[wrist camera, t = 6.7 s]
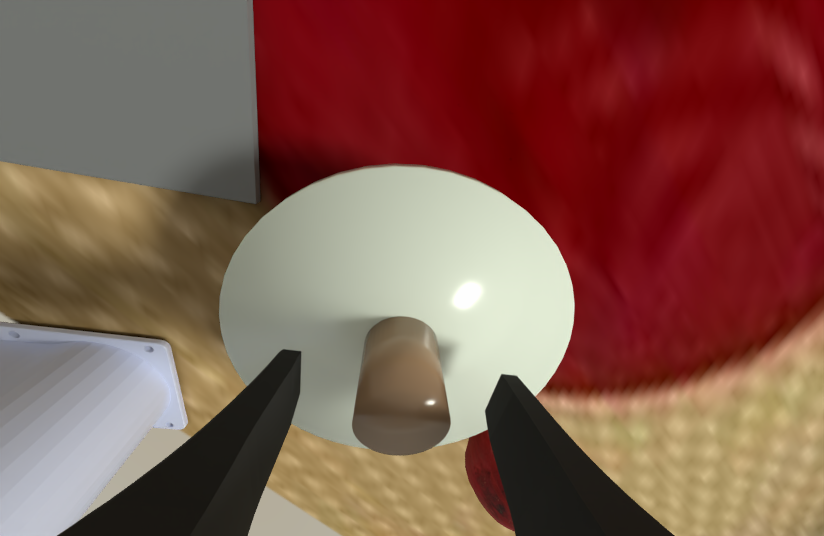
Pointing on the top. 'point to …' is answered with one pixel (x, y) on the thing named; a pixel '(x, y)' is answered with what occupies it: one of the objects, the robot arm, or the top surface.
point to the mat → (133, 92)
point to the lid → (398, 304)
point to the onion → (487, 478)
